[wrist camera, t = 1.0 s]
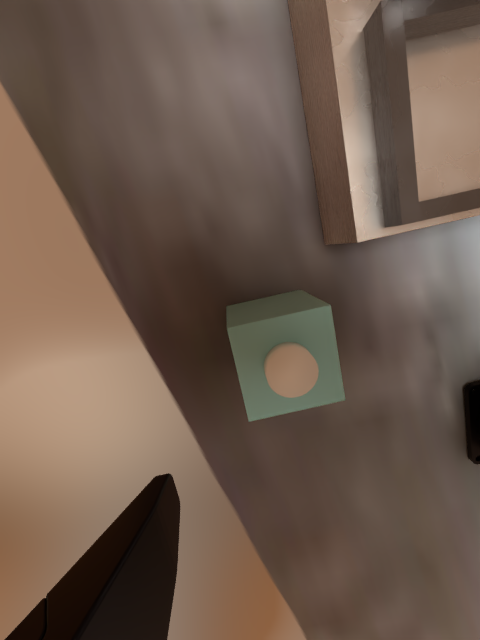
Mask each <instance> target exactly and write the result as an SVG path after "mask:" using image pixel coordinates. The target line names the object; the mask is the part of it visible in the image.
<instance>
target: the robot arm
mask: <svg viewBox="0 0 480 640" xmlns="http://www.w3.org/2000/svg"><path fill="white" fill-rule="evenodd" d="M473 389H474V391H473ZM472 391H473V392H472ZM464 394H465V411H466V428H467V444H468V457H469V459H470V460H471V461H472V462H473V463H474V464H480V381H478V382H473V383H470V384H468V385H467V386H466V387H465V390H464ZM179 523H180V501H179V496H178V493H177V490H176V487H175V483H174V480H173V477H172V476H171V474H164V475H159V476H156V477H155V478H153V479H152V481H151V482H150V483H149V484H148V485H147V486H146V487H145V488H144V489H143V490H142V491H141V493H140V494H139V495H138V496H137V497H136V498H135V499H134V500H133V501H132V502H131V503H130V504H129V506H128V507H127V508H126V509H125V510H124V511H123V512H122V513H121V514H120V515H119V517H118V518H117V519H116V520H115V521H114V522H113V523H112V524H111V525H110V526H109V527H108V529H107V530H106V531H105V532H104V533H103V534H102V535H101V536H100V537H99V538H98V540H96V542H95V543H94V544H93V545H92V546H91V547H90V548H89V549H88V550H87V551H86V552H85V554H84V555H83V556H82V557H81V558H80V559H79V560H78V561H77V562H76V563H75V565H73V567H72V568H71V569H70V570H69V571H68V572H67V573H66V574H65V575H64V576H63V577H62V579H61V580H60V581H59V582H58V583H57V584H56V585H55V586H54V587H53V588H52V589H51V591H50V592H49V593H48V594H47V596H46V598H43V599H42V600H41V601H40V602H39V604H38V605H37V606H36V607H35V608H34V609H33V610H32V611H31V612H30V613H29V614H28V615H27V617H26V618H25V619H24V620H23V621H22V622H21V623H20V624H19V625H18V626H17V627H16V628H15V629H14V630H13V631H12V632H11V634H10V635H9V636H8V637H7V638H6V639H5V640H167V636H168V630H169V622H170V616H171V609H172V603H173V596H174V589H175V583H176V574H177V563H178V543H179Z"/></svg>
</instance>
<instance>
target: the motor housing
mask: <svg viewBox="0 0 480 640" xmlns="http://www.w3.org/2000/svg"><path fill="white" fill-rule="evenodd" d="M288 6H289V13H290V19H291V26H292V33H293V39H294V46H295V52H296V59H297V65H298V72H299V78H300V85H301V92H302V98H303V105H304V111H305V118H306V124H307V131H308V137H309V144H310V150H311V157H312V164H313V170H314V177H315V183H316V190H317V196H318V203H319V209H320V216H321V223H322V229H323V236H324V242H325V244H341V243H357V242H362V241H366V240H371V239H375V238H380V237H384V236H389V235H393V234H398V233H402V232H406V231H411V230H415V229H420V228H424V227H429V226H433V225H438V224H442V223H446V222H451V221H455V220H460V219H464V218H469V217H473V216H478V215H480V0H288Z"/></svg>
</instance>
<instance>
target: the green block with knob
mask: <svg viewBox="0 0 480 640" xmlns="http://www.w3.org/2000/svg"><path fill="white" fill-rule="evenodd" d="M226 317H227V331H228V336H229V340H230V344H231V348H232V353H233V357H234V361H235V365H236V369H237V374H238V378H239V382H240V386H241V391H242V395H243V399H244V403H245V408H246V412H247V416H248V420H249V422H250V421H255V420H259V419H264V418H268V417H273V416H277V415H282V414H286V413H290V412H295V411H299V410H304V409H308V408H313V407H317V406H322V405H326V404H331V403H335V402H340V401H344V400H345V394H344V388H343V381H342V375H341V368H340V362H339V355H338V349H337V342H336V336H335V330H334V323H333V317H332V310H331V305H330V304H328V303H326V302H324V301H322V300H320V299H318V298H316V297H314V296H312V295H310V294H308V293H307V292H305V291H303V290H296V291H292V292H287V293H283V294H278V295H274V296H269V297H265V298H260V299H256V300H252V301H247V302H243V303H238V304H234V305H229V306H226Z"/></svg>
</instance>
